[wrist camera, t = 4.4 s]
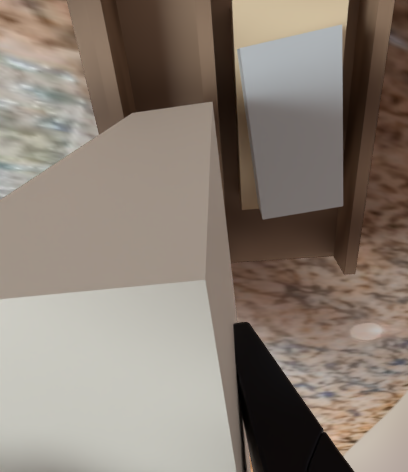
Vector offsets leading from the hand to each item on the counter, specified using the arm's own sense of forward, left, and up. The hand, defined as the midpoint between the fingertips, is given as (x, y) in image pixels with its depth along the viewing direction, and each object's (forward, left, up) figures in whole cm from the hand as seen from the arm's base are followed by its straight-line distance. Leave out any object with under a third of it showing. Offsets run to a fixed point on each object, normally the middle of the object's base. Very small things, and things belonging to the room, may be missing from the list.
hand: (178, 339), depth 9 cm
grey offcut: (+3, -5, -9) cm, 11 cm away
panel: (0, 0, -7) cm, 6 cm away
